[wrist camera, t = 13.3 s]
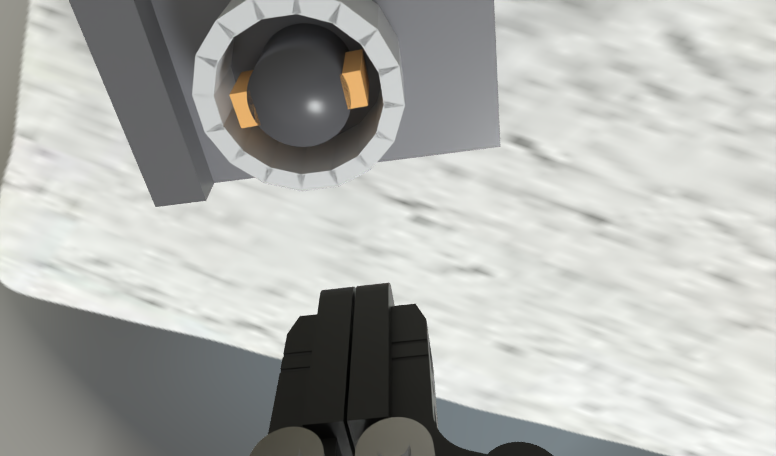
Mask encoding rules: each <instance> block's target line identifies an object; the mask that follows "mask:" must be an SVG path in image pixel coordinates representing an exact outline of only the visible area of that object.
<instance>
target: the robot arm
mask: <svg viewBox="0 0 776 456" xmlns="http://www.w3.org/2000/svg"><path fill="white" fill-rule="evenodd" d="M250 456H553V455H552V454H550V453H549V452H548V451H546V450H545V449H543V448H541V447H539V446H537V445H534V444H531V443H525V442H511V443H506V444H503V445H500V446H498V447H496V448H495V449H493V450H492V451H490V452H489V453H488V454H483V453H478V452H474V451H469V450H466V449H462V448H460V447H458V446H456V445H454V444H452V443H450V442H449V441H448V440H447V439H446V438H444V437H443V435H442V434H441V433H440V432H439V430H438V420H437V409H436V395H435V382H434V370H433V362H432V355H431V348H430V342H429V335H428V328H427V321H426V318H425V317H424V315H423V314H422V313H421V311H420V310H419V308H418V307H417V305H416V304H409V305H399V306H394V300H393V295H392V290H391V285H390V283H382V284H373V285H364V286H357V287H356V288H355V287H347V288H338V289H329V290H322V291H321V293H320V299H319V306H318V313H317V314H316V315H307V316H300V317H299V318H298V320H297V321H296V322H295V324H294V325H293V327H292V328H291V330H290V331H289V332H288V334H287V338H286V343H285V348H284V357H283V359H282V364H281V373H280V375H279V380H278V385H277V391H276V396H275V401H274V407H273V412H272V417H271V422H270V428H269V432H268V435H267V436H265V437H264V438H263V439H262V440H260V441H259V442H258V443H257V445H256V446H255V447H254V449H253V450H252V452H251V453H250Z"/></svg>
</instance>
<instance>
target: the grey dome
mask: <svg viewBox="0 0 776 456" xmlns="http://www.w3.org/2000/svg"><path fill="white" fill-rule="evenodd" d="M229 95H230V98H231V101H232V104H233V107H234V109H235V112H236V115H237V118H238V121H239V123H240V126H241V128H247V127H252V126H259V127H260V128H261V129H262V130H263V131H264V132H265V133H266V134H267V135H269V136H270V137H272V138H273V139H275V140H277V141H279V142H281V143H284V144H287V145H291V146H297V147H309V146H315V145H319V144H322V143H324V142H326V141H328V140H330V139H331V138H333V137H334V136H335V135H336V134H338V133H339V132H340V130H341V129H342V128H343V127H344V125H345V123H346V121H347V119H348V117H349V113H350V109H353V108H358V107H364V106H368V98H369V78H368V73H367V69H366V64H365V60H364V55H363V50H362V49H361V50H355V51H349V49H348V48H347V46H346V44H345V43H344V42H343V41H342V40H341V39H340V38H339V37H338V36H337V35H336V34H335V33H333V32H332V31H330V30H328V29H327V28H324V27H322V26H319V25H315V24H309V23H299V24H293V25H290V26H287V27H285V28H283V29H281V30H279V31H278V32H277V33H275V34H274V35H273V36H272V37H271V38H270V39H269V41H268V42H267V44H266V46H265V48H264V50H263V52H262V54H261V56H260V58H259V60H258V62H257V64H256V66H255V68H254V70H250V71H244V72H241V74H240V76H239V77H238V79H237V81H236V83H235V85H234V87H233V89H232V91H231V92H230V94H229Z"/></svg>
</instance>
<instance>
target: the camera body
mask: <svg viewBox="0 0 776 456" xmlns="http://www.w3.org/2000/svg"><path fill="white" fill-rule="evenodd" d="M69 2H70V4H71V6H72V9H73V11H74V14H75V16H76V18H77V21H78V23H79V25H80V28H81V30H82V33H83V35H84V37H85V40H86V42H87V45H88V47H89V49H90V52H91V54H92V57H93V59H94V61H95V64H96V66H97V68H98V71H99V73H100V76H101V78H102V80H103V83H104V85H105V88H106V90H107V92H108V95H109V97H110V99H111V102H112V104H113V107H114V109H115V111H116V114H117V116H118V119H119V121H120V123H121V126H122V128H123V130H124V133H125V135H126V138H127V140H128V142H129V145H130V147H131V150H132V152H133V154H134V157H135V159H136V161H137V164H138V166H139V169H140V171H141V173H142V176H143V178H144V181H145V183H146V185H147V188H148V190H149V192H150V195H151V197H152V200H153V202H154V204H155V207H159V206H167V205H175V204H183V203H191V202H199V201H206V200H207V198H208V195H209V193H210V191H211V189H212V187H213V184H214V183H217V182H225V181H233V180H241V179H249V178H256V179H258V180H260V181H261V182H263V183H266V184H271V185H275V186H280V187H285V188H289V189H294V190H299V191H307V190H315V189H323V188H331V187H339V186H341V185H343V184H344V183H346V182H348V181H350V180H352V179H354V178H356V177H358V176H360V175H362V174H364V173H365V172H367V171H369V170H371V169H372V168H373V167H374V165H375V164H376V163H377V162H383V161H391V160H399V159H407V158H415V157H423V156H431V155H438V154H446V153H454V152H462V151H470V150H478V149H486V148H494V147H500V126H499V104H498V81H497V59H496V36H495V14H494V0H69ZM299 23H309V24H315V25H319V26H322V27H324V28H327V29H328V30H330V31H332V32H333V33H335V34H336V35H337V36H338V37H339V38H340V39H341V40H342V41H343V42H344V43H345V44H346V46H347V48H348V49H349V51H355V50H361V49H362V50H363V55H364V60H365V64H366V69H367V73H368V78H369V98H368V106H364V107H358V108H353V109H350V113H349V117H348V119H347V121H346V123H345V125H344V127H343V128H342V129H341V130H340V132H339V133H338V134H336V135H335V136H334V137H333V138H331V139H330V140H328V141H326V142H324V143H322V144H319V145H315V146H309V147H297V146H291V145H287V144H284V143H281V142H279V141H277V140H275V139H273V138H272V137H270V136H269V135H267V134H266V133H265V132H264V131H263V130H262V129H261V128H260V127H259V126H252V127H247V128H241V126H240V123H239V121H238V118H237V115H236V112H235V109H234V107H233V104H232V101H231V98H230V95H229V94H230V92H231V91H232V89H233V87H234V85H235V83H236V81H237V79H238V77H239V76H240V74H241V72H244V71H250V70H254V68H255V66H256V64H257V62H258V60H259V58H260V56H261V54H262V52H263V50H264V48H265V46H266V44H267V42H268V41H269V39H270V38H271V37H272V36H273V35H274V34H275V33H277V32H278V31H279V30H281V29H283V28H285V27H287V26H290V25H293V24H299Z"/></svg>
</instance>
